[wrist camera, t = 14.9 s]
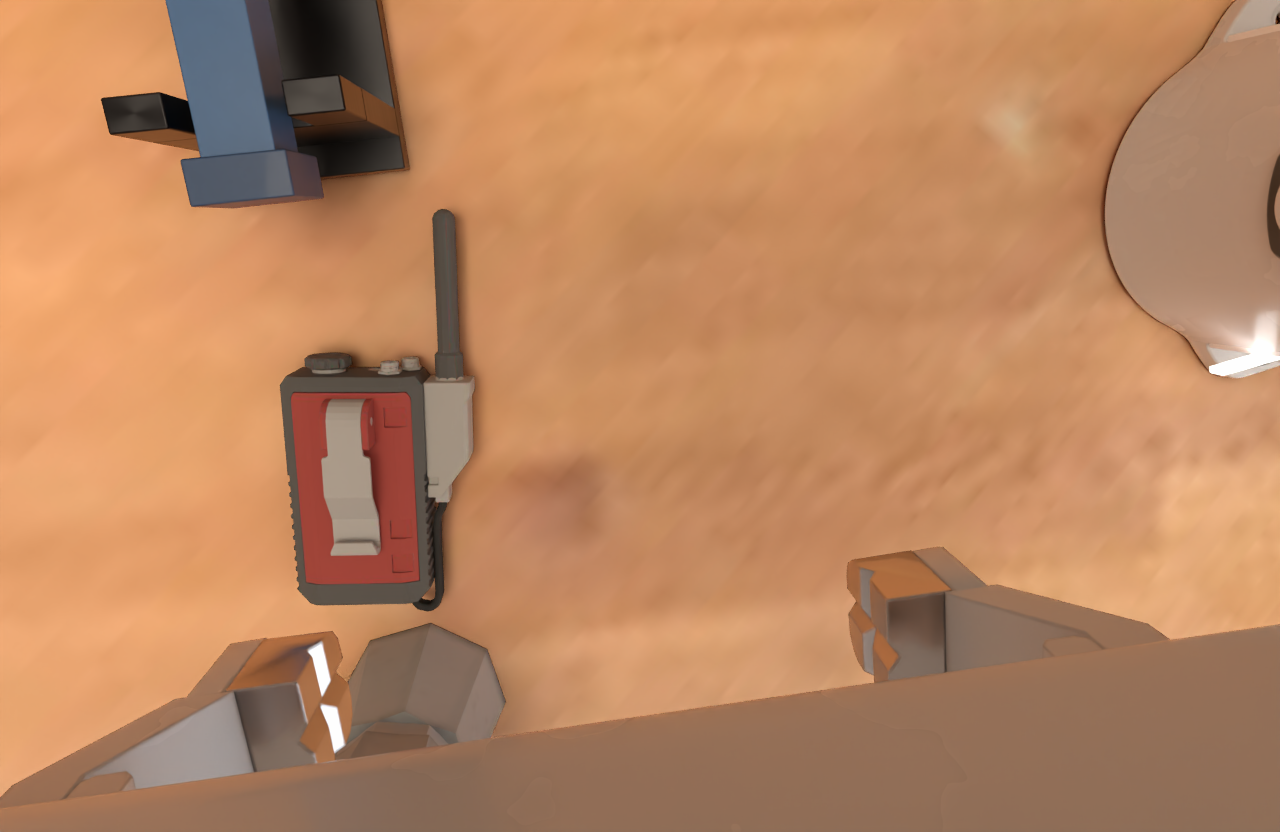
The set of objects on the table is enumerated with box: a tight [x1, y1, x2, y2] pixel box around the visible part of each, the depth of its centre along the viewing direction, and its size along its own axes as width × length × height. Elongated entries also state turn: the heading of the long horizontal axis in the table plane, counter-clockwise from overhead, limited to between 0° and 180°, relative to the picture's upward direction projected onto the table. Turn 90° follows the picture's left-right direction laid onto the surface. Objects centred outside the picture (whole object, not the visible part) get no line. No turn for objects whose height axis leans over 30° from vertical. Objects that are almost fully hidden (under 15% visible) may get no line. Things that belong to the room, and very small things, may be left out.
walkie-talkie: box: [280, 209, 475, 611], centre depth 39 cm, size 9×4×20 cm
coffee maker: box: [335, 623, 506, 760], centre depth 36 cm, size 15×9×18 cm, turn 105°
